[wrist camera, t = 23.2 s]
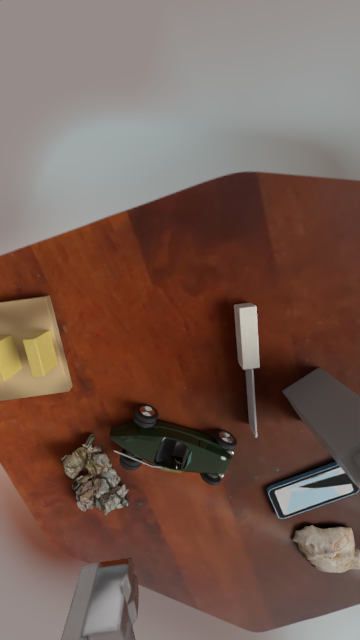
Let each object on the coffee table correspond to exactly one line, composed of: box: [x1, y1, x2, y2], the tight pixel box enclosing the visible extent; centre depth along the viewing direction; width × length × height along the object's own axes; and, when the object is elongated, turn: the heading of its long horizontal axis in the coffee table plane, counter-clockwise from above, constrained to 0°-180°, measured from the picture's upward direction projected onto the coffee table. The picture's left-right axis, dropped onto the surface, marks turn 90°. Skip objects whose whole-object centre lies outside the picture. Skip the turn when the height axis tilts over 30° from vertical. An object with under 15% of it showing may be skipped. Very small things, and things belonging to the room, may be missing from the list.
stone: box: [293, 525, 360, 573], centre depth 46 cm, size 13×11×3 cm
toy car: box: [109, 405, 237, 485], centre depth 38 cm, size 9×20×5 cm, turn 72°
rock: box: [61, 434, 129, 515], centre depth 40 cm, size 8×15×4 cm, turn 6°
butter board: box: [0, 295, 73, 401], centre depth 35 cm, size 14×13×2 cm
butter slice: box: [23, 330, 58, 377], centre depth 33 cm, size 5×2×4 cm, turn 6°
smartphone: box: [267, 462, 359, 519], centre depth 44 cm, size 7×1×15 cm
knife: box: [234, 303, 260, 437], centre depth 37 cm, size 20×2×3 cm, turn 7°
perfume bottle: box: [282, 368, 360, 490], centre depth 31 cm, size 7×7×18 cm
